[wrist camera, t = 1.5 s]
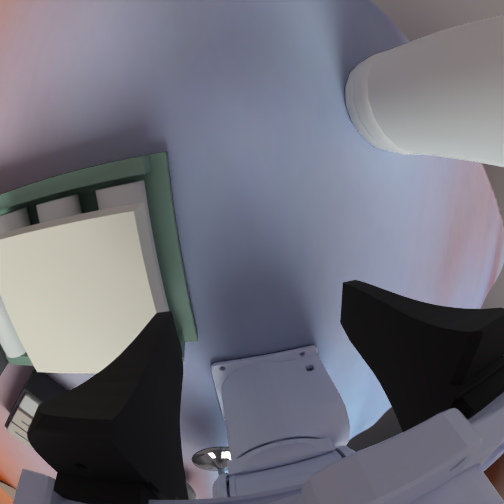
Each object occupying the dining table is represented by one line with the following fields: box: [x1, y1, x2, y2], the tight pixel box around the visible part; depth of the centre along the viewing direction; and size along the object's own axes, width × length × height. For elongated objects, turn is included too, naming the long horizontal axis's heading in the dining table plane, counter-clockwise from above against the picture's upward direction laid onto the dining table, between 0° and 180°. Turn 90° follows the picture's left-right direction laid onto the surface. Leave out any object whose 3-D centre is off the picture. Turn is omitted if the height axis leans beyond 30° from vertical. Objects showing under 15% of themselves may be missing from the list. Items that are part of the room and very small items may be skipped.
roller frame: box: [0, 152, 198, 375], centre depth 15 cm, size 20×14×7 cm
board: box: [0, 202, 166, 373], centre depth 14 cm, size 10×9×2 cm
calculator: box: [5, 369, 69, 450], centre depth 22 cm, size 11×4×15 cm
